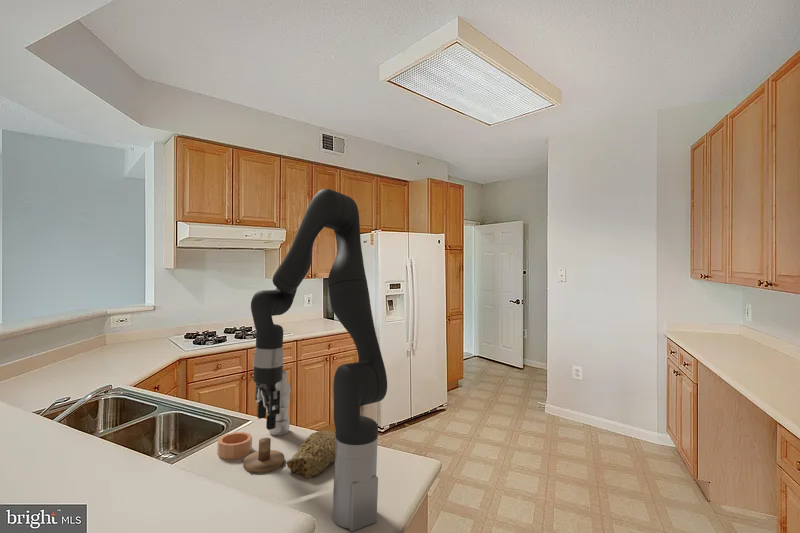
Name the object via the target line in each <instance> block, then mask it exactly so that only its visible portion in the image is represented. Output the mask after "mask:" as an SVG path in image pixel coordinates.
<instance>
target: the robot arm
mask: <svg viewBox="0 0 800 533" xmlns="http://www.w3.org/2000/svg"><path fill="white" fill-rule="evenodd" d="M324 228H327V229H329V230H330V229H331V230H333V232H334V235H335V241H336V255H335V259H334V260H333V264H332V265H331V268H330V271H329V273H328V278H327V289H328V294H329V302H330V308H331V310H332V312H333V314H334V316H335V317H336V319H337V320H338V321H339V322H340V324H341V325H342V327H343V328H344V329H345V330H346V331H347V333H348V334H349V335H350V337H351V339H352V340H353V343H354V345H355V347H356V351H357V355H358V359H359V360H358V361H357V362H351V363H350V362H349V363H345V364H340V365H339V366H338V367H337V368H336V370H335V373H334V376H333V383H332V384H333V388H332V389H333V393H332V394H333V422H334V429H335V433H336V437H335V461H334V466H333V467H334V468H333V489H332V490H333V494H332V495H333V496H332V497H333V498H332V503H333V504H332V520H333V522H334V524H336V525H337V526H339V527H341V528H345V529H349V531H350V532H355V531H358V530H359V529H362V528H365V527H366V526H367V527H368V526H369V525H372V524H374V523H376V522H378V498H379V495H378V493H379V477H378V476H377V472H378V471H377V469H378V468H377V466H378V464H377V463H378V442H379V441H378V440H379V438H378V437H379V426H378V423H377V421H375V420H374V419H373V418H370V417H368V416H364V415H361V414H360V407H362V406H366V405H370V404H375V403H379V402H381V401H383V400H384V399H385V397H386V395H387V392H388V377H387V371H386V367H385V362H384V360H383V356H382V351H381V348H380V344H379V341H378V337H377V333H376V332H377V331H376V328H375V324H374V323H375V322H374V317H373V316H374V315H373V311H372V306H371V299H370V291H369V286H368V285H369V284H368V281H367V277H366V276H367V275H366V269H365V265H364V256H363V251H362V250H363V249H362V241H361V228H360V214H359V207H358V205H357V202H356V201H355V199H353V198H352V197H350V196H349V195H346V194H343V193H341V192H339V191H336V190H334V189H330V188H322V189H320V190H318V191H317V192H316V193H315V195H314V196H313V198H311V201H310V203H309V204H308V207H307V209H306V211H305V214H304V216H303V218H302V220H301V223H300V225H299V227H298V230H297V233H296V235H295V237H294V240H293V242H292V244H291V246H290V248H289V250H288V251H287V254H286V256H284V259H283V260H282V262H281V263H280V265H279V266H278V268H277V269H276V270H275V272H274V274H273V275H272V276H273V277H272V283H273V285H274V286H275V289H271V290H270V289H269V290H268V289H267V290H266V289H264V290H262V289H261V290H258V291H256V292H255V293H254V295H253V297H252V298H251V302H250V310H251V316H252V319H253V324H254V328H255V333H256V334H255V350H254V355H253V375H252V379H253V382H254V384H255V394H254V400H255V401H256V405H257V412H256V413H257V414H256V416H257V419H259V420H261V419H264V418H266V424H265V425H266V426H265V428H266V429H267V430H268V431H269V430H270V429H274V428H275V426H276V414H279V413H280V391H277V389H276V386H275V384H276V383H278V382H280V381H281V380H282V375H283V371H284V368H283V367H284V347H283V345H284V328H283V327H282V326H281V325H280V324H275V323H274V321H273V316H274V317H275V316H281V315H284V314H286V313H287V312H288V311H289V310H290V308H291V307H292V305H293V302H294V299H295V296H296V294H297V291H298V288H299V286H300V284H301V283H302V282H303V280H304V279H305V277H306V276H307V275H308V273H309V271H310V269H311V267H312V266H311V265H312V261H313V250H314V249H313V248H314V244H315V240H316V238H317V237H318V235H319V234H320V232H321V231H322V230H323V229H324ZM276 405H277V406H276ZM272 406H273V408H274V410H272Z"/></svg>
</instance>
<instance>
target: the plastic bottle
mask: <svg viewBox="0 0 800 533" xmlns="http://www.w3.org/2000/svg"><path fill="white" fill-rule="evenodd" d="M287 378H288V373H287V371H286V370H283V375H282V380H281V381H280V382H278V383H276V384H275V386H276V389H277V391H280V413H279V414H276V426H275V428H274V429H270V430H268V431H269V432H268V433H269V434H270V435H271V436H274V437H279V436H285V435H286V434H287V435H288V432H289V431H290V419H289V404H290V401H289V400H290V395H291V385H290V383H289V382H288V380H287ZM276 406H277V405H276ZM272 410H274V408H273V406H272Z"/></svg>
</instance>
